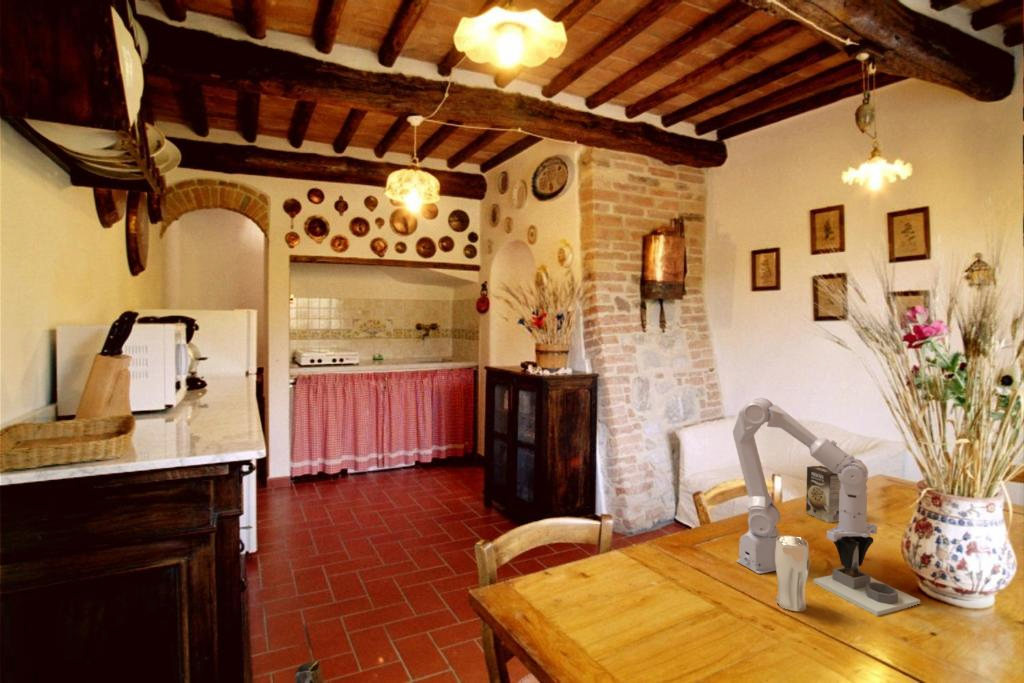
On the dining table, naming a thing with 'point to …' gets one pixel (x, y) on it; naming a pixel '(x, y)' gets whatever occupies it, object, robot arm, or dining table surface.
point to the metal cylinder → (853, 563)
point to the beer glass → (791, 571)
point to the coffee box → (823, 494)
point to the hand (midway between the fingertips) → (851, 565)
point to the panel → (864, 599)
